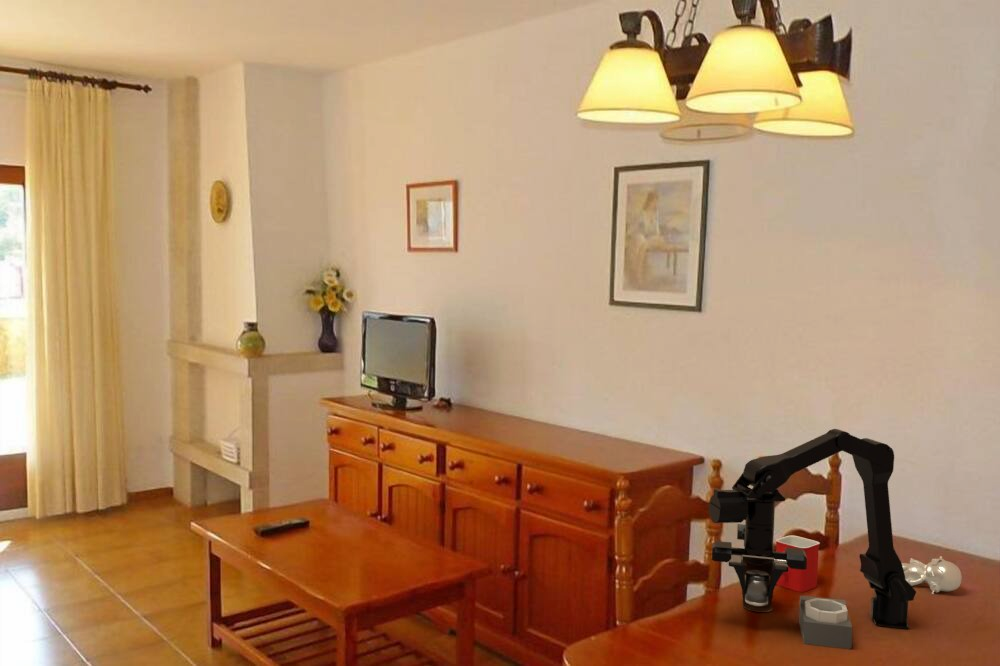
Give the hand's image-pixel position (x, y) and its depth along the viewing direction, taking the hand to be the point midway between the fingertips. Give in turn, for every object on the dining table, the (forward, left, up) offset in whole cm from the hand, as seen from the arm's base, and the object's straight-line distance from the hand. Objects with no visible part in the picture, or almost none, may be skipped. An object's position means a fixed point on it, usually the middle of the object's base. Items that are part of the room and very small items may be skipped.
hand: (756, 595), depth 185 cm
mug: (-9, -30, -7) cm, 32 cm away
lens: (0, 0, -1) cm, 1 cm away
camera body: (-14, -1, -7) cm, 15 cm away
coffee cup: (-1, -13, -7) cm, 15 cm away
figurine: (-41, -40, -8) cm, 57 cm away
